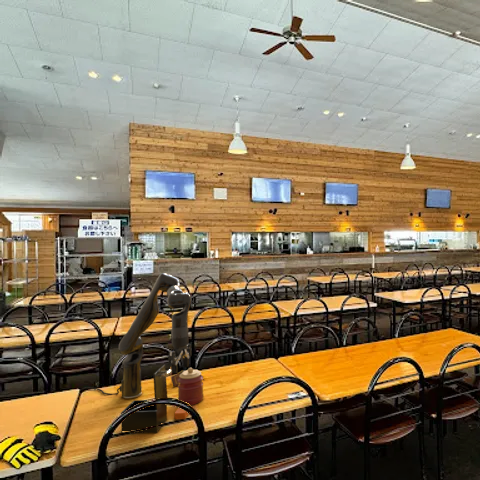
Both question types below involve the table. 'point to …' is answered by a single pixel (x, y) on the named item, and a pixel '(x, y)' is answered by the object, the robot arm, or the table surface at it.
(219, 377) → the table surface
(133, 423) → the trash bin
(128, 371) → the robot arm
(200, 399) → the kitchen canister
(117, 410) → the table surface
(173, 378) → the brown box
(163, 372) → the bin lid
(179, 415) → the block
